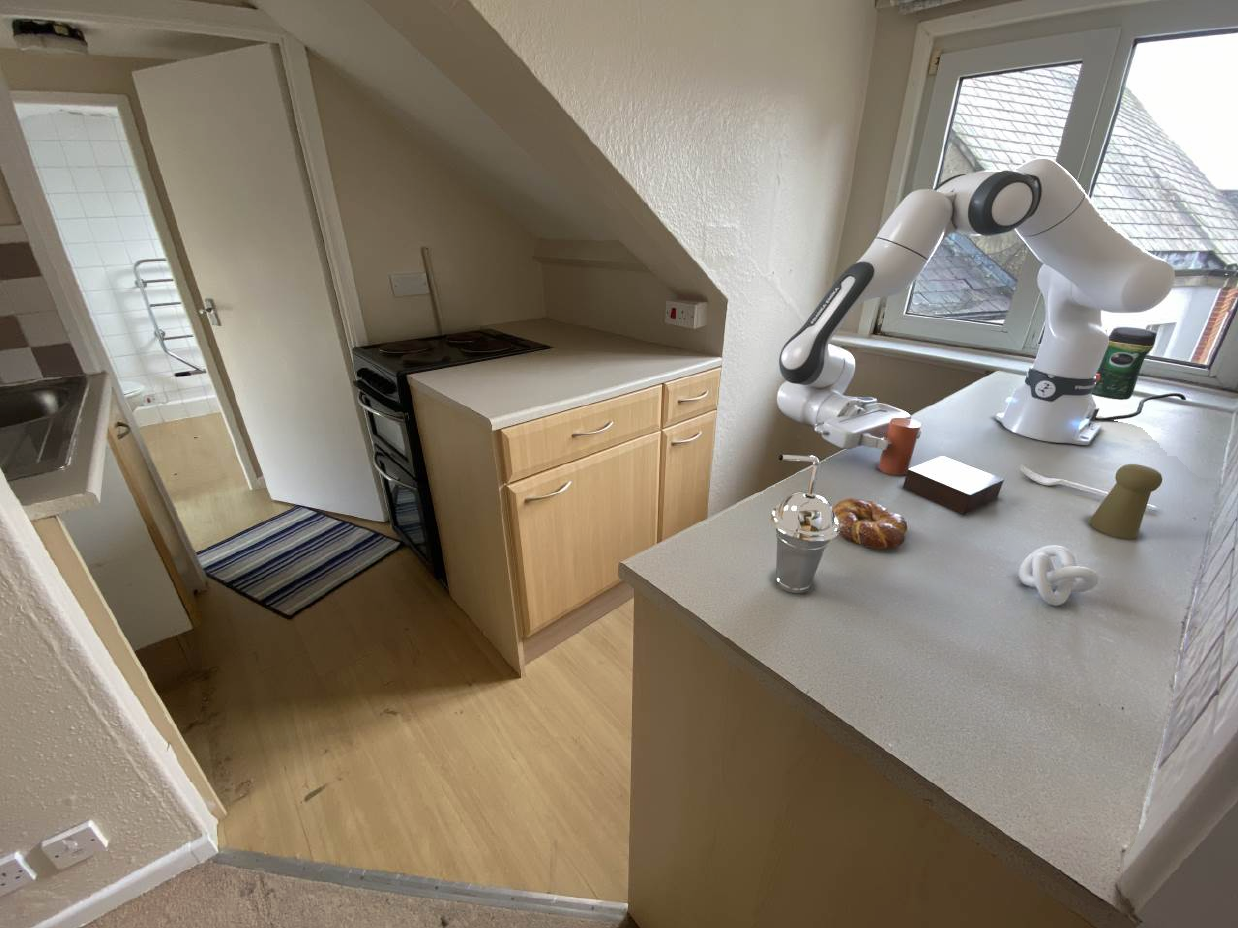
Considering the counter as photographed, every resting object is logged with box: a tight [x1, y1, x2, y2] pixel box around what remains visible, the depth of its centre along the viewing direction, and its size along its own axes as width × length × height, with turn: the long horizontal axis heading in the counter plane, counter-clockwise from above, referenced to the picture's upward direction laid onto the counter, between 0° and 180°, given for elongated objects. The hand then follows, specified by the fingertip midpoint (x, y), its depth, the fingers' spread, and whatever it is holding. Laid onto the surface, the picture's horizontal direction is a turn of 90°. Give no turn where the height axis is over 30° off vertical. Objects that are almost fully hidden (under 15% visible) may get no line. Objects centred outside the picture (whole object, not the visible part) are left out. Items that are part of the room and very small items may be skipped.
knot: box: [1018, 544, 1100, 607], centre depth 70 cm, size 8×8×6 cm
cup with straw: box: [770, 454, 840, 595], centre depth 68 cm, size 8×9×20 cm
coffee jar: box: [1091, 326, 1157, 401], centre depth 142 cm, size 10×8×19 cm
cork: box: [1088, 463, 1163, 540], centre depth 83 cm, size 6×6×11 cm
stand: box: [902, 455, 1005, 516], centre depth 94 cm, size 11×11×4 cm
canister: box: [877, 418, 922, 477], centre depth 101 cm, size 5×5×10 cm
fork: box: [1018, 463, 1157, 511], centre depth 96 cm, size 3×20×2 cm, turn 47°
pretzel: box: [832, 497, 908, 550], centre depth 83 cm, size 12×11×4 cm
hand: (903, 440), depth 100 cm, fingers open, 8 cm apart
